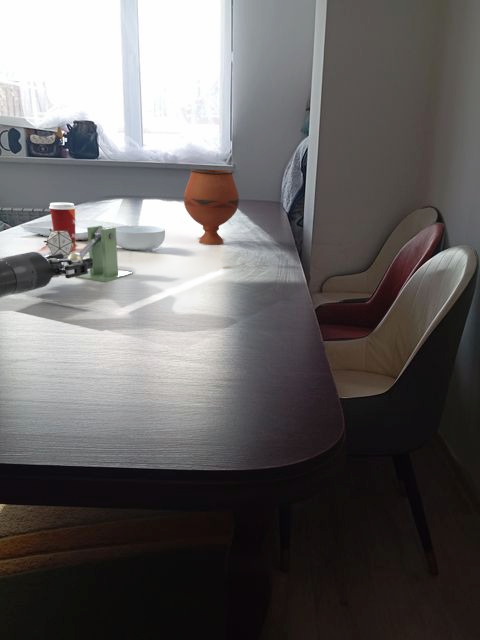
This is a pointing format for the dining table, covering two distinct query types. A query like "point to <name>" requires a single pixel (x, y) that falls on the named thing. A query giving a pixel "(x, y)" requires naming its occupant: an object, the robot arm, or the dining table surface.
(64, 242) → the game die
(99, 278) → the bracket
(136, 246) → the cereal bowl
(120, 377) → the dining table surface
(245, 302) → the dining table surface
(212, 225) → the goblet
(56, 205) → the paper cup
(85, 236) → the square plate
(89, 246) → the lever
